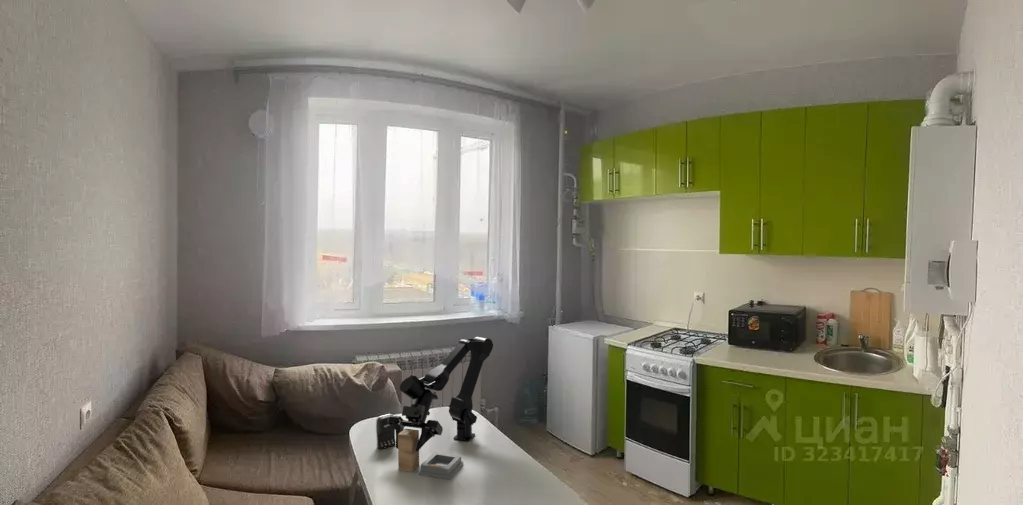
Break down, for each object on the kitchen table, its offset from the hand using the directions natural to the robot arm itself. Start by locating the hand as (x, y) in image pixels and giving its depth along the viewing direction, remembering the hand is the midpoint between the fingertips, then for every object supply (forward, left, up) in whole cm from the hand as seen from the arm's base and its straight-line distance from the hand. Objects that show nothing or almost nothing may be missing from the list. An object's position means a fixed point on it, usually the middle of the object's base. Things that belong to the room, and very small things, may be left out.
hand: (406, 449), depth 167 cm
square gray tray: (-3, +11, -7) cm, 13 cm away
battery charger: (-13, -16, -7) cm, 22 cm away
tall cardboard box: (-1, 0, -7) cm, 7 cm away
